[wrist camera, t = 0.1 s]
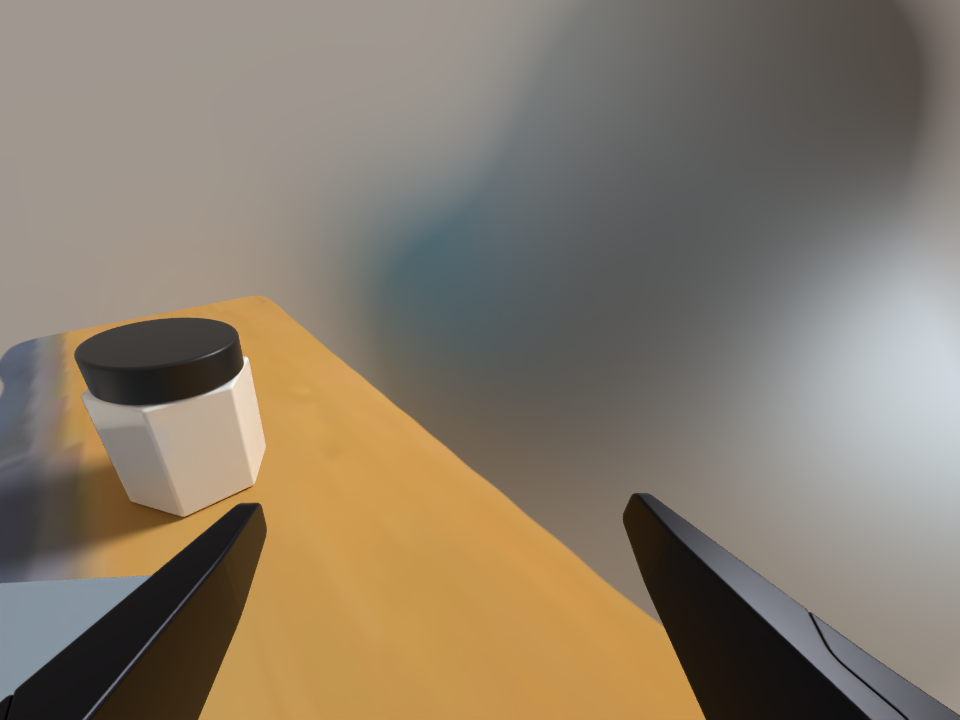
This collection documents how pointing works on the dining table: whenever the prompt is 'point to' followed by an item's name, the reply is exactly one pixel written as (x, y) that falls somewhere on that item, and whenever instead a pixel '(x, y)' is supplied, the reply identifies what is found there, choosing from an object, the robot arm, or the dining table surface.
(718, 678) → the robot arm
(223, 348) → the jar
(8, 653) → the mount block
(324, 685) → the dining table surface
